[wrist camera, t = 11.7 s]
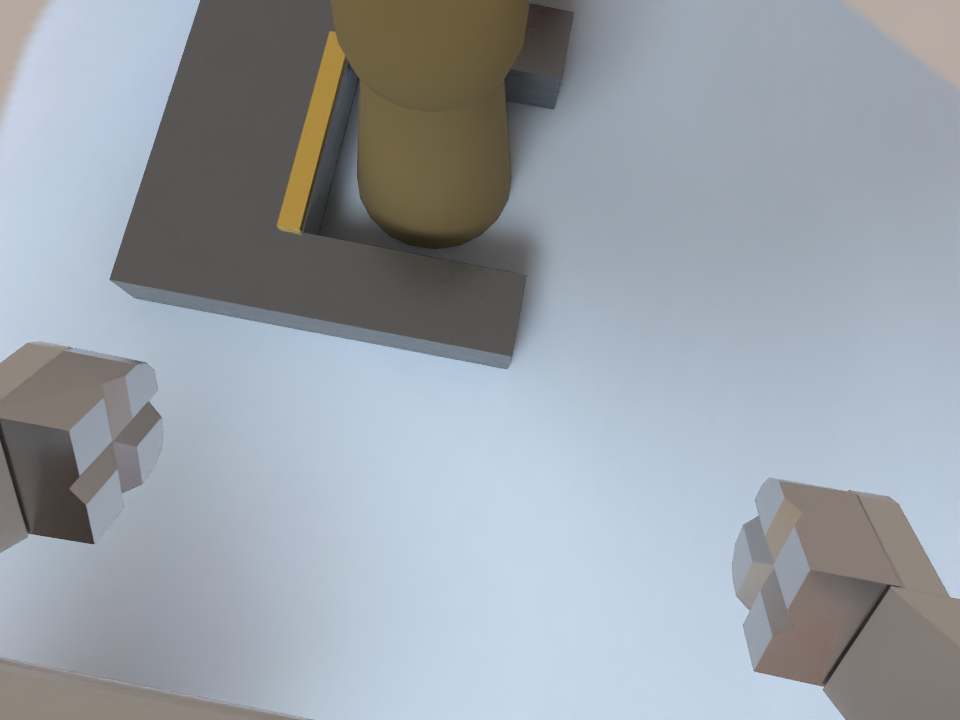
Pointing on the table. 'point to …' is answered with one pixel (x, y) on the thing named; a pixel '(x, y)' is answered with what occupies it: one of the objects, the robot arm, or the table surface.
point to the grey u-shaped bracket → (302, 192)
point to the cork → (432, 111)
